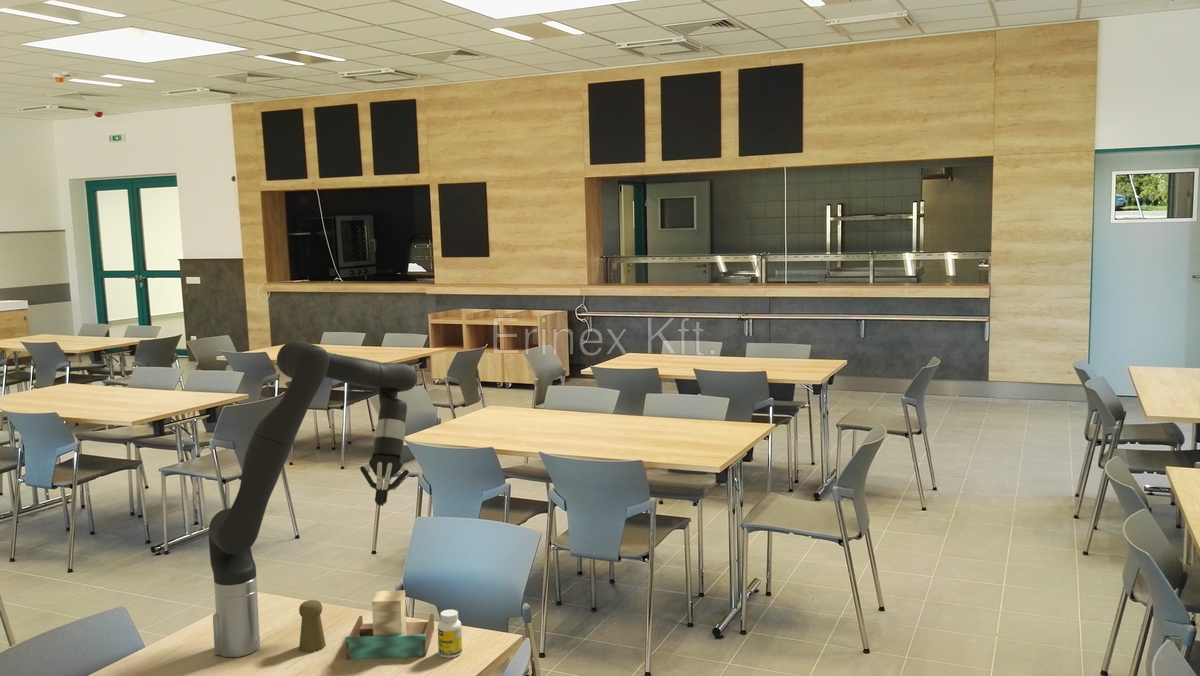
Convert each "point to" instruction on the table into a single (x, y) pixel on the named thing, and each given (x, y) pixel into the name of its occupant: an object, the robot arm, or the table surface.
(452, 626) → the supplement bottle
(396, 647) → the trap lane
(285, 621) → the table surface
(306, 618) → the olive pawn
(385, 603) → the maple block
